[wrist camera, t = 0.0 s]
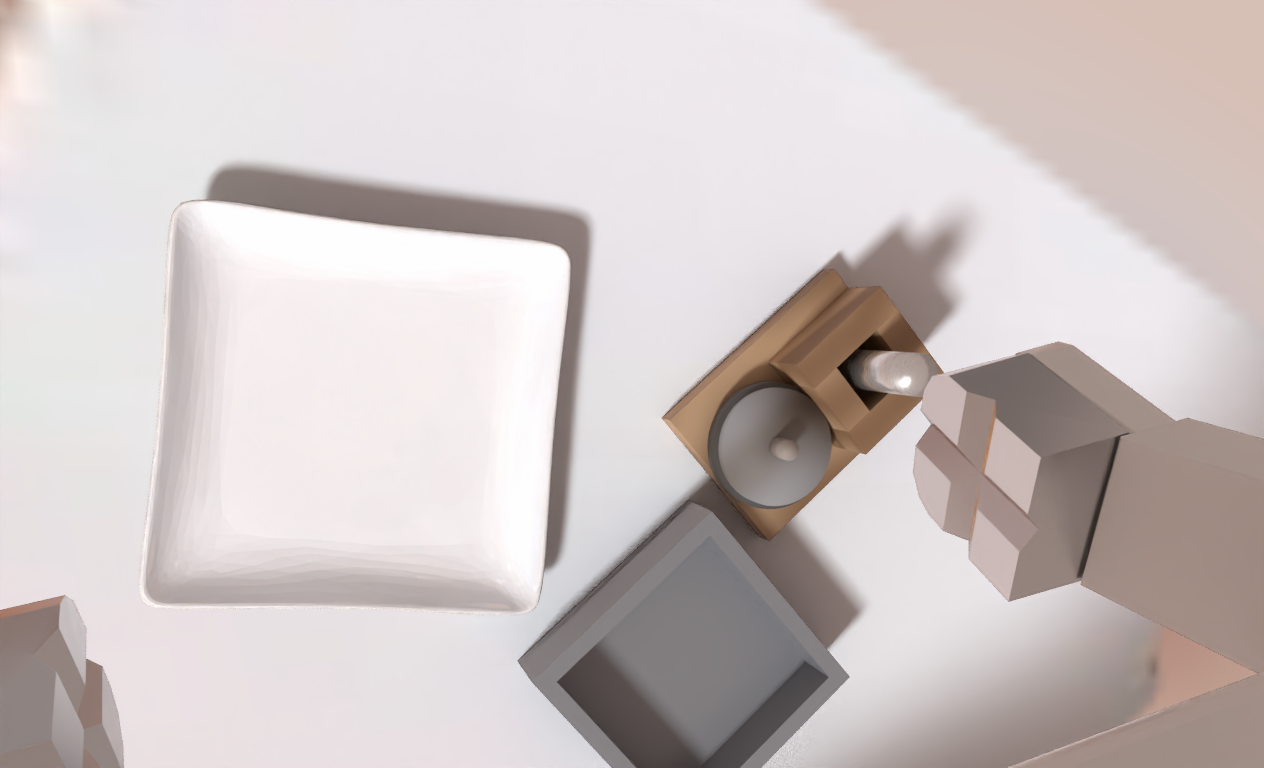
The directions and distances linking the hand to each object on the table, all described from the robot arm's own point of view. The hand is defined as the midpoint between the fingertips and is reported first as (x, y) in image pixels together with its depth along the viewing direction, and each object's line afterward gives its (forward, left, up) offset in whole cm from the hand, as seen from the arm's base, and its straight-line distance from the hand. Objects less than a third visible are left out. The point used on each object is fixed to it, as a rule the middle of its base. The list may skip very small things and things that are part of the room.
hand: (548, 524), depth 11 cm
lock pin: (-21, -23, -53) cm, 61 cm away
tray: (-28, -3, -54) cm, 61 cm away
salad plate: (-4, +1, -55) cm, 55 cm away
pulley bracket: (-21, -19, -54) cm, 61 cm away
